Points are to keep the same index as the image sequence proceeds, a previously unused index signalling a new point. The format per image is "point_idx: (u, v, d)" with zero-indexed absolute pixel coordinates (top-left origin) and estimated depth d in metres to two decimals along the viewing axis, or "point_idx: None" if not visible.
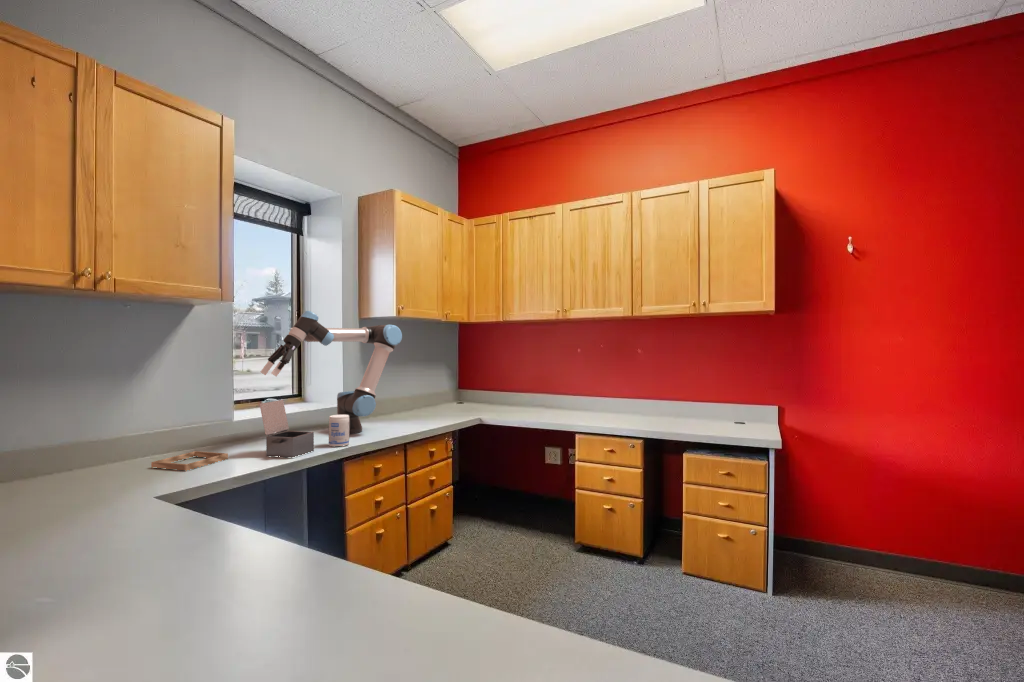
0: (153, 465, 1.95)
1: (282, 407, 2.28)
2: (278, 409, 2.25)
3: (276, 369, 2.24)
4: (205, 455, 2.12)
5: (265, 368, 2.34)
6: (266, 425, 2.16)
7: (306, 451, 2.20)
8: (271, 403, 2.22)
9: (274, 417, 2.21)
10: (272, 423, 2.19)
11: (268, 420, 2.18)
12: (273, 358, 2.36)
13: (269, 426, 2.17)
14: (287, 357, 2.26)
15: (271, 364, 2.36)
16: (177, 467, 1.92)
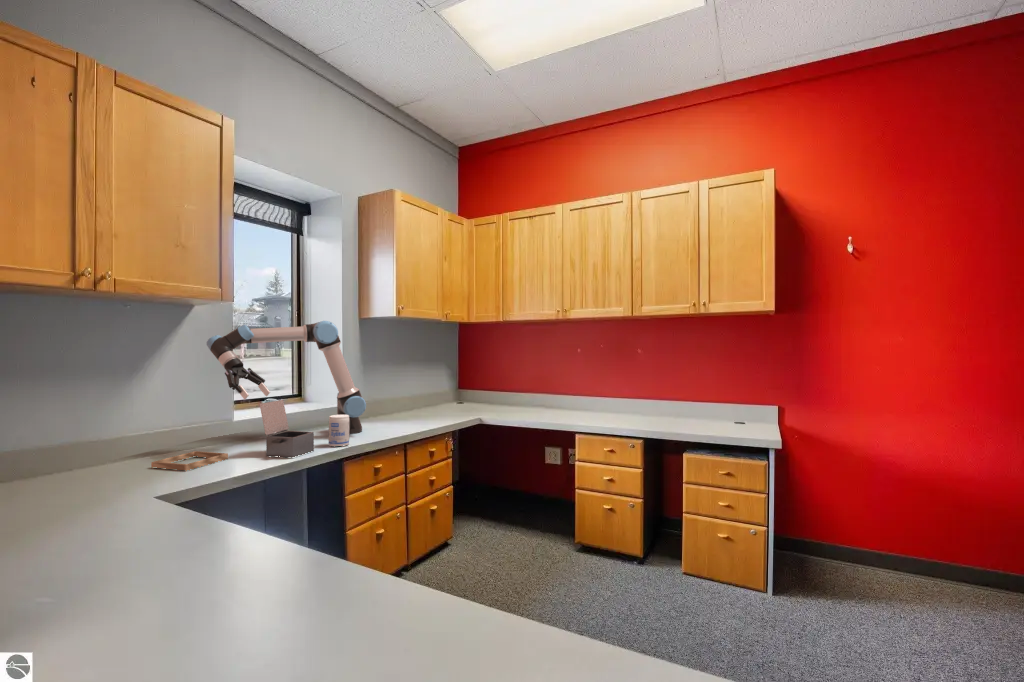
0: (153, 465, 1.95)
1: (282, 407, 2.28)
2: (278, 409, 2.25)
3: (241, 393, 2.18)
4: (205, 455, 2.12)
5: (263, 390, 2.31)
6: (266, 425, 2.16)
7: (306, 451, 2.20)
8: (271, 403, 2.22)
9: (274, 417, 2.21)
10: (272, 423, 2.19)
11: (268, 420, 2.18)
12: (255, 382, 2.32)
13: (269, 426, 2.17)
14: (229, 383, 2.17)
15: (261, 384, 2.32)
16: (177, 467, 1.92)
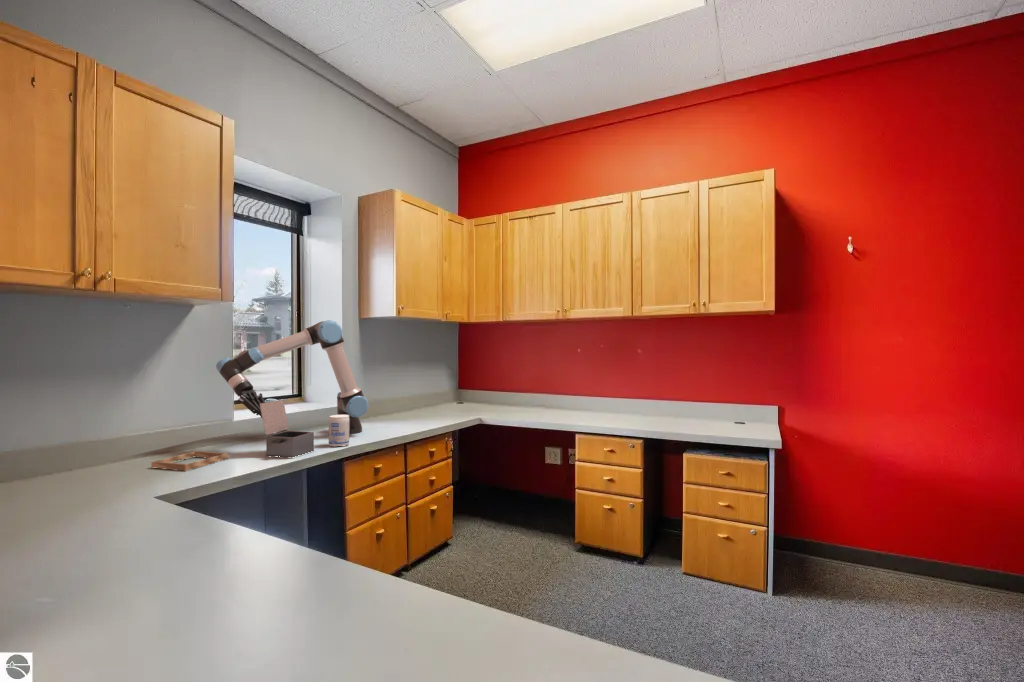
0: (153, 465, 1.95)
1: (282, 407, 2.28)
2: (278, 409, 2.25)
3: None
4: (205, 455, 2.12)
5: None
6: (266, 425, 2.16)
7: (306, 451, 2.20)
8: (271, 403, 2.22)
9: (274, 417, 2.21)
10: (272, 423, 2.19)
11: (268, 420, 2.18)
12: None
13: (269, 426, 2.17)
14: (251, 409, 2.20)
15: None
16: (177, 467, 1.92)
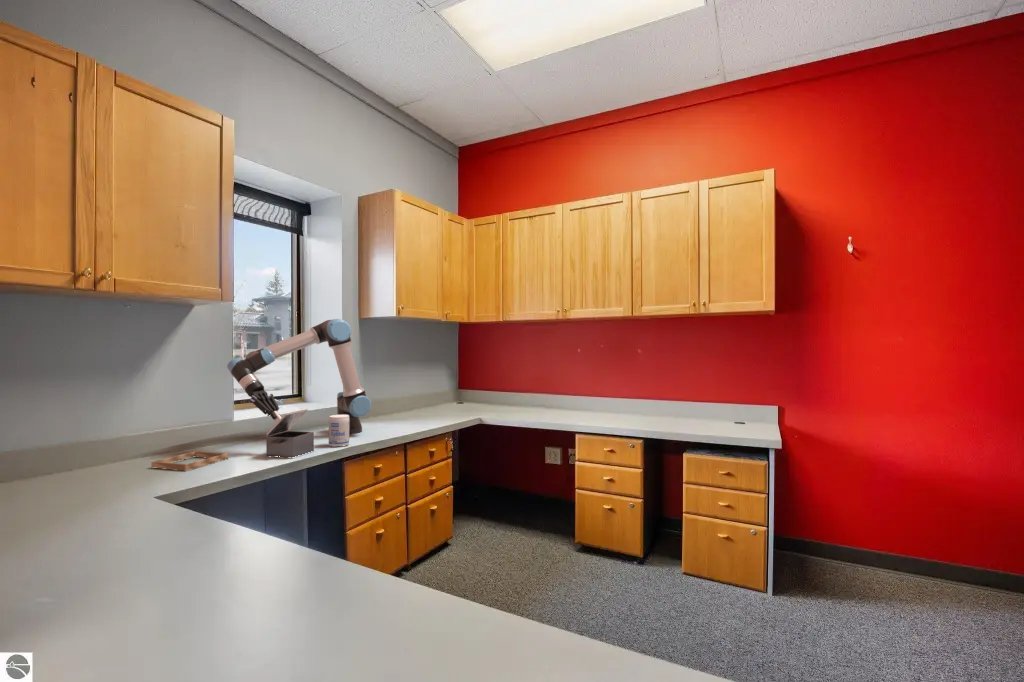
0: (153, 465, 1.95)
1: (301, 415, 2.25)
2: (296, 417, 2.22)
3: (276, 420, 2.21)
4: (205, 455, 2.12)
5: None
6: (273, 429, 2.15)
7: (306, 451, 2.20)
8: (295, 413, 2.18)
9: (286, 423, 2.20)
10: (280, 427, 2.18)
11: (279, 426, 2.16)
12: None
13: (275, 430, 2.16)
14: (262, 410, 2.19)
15: None
16: (177, 467, 1.92)
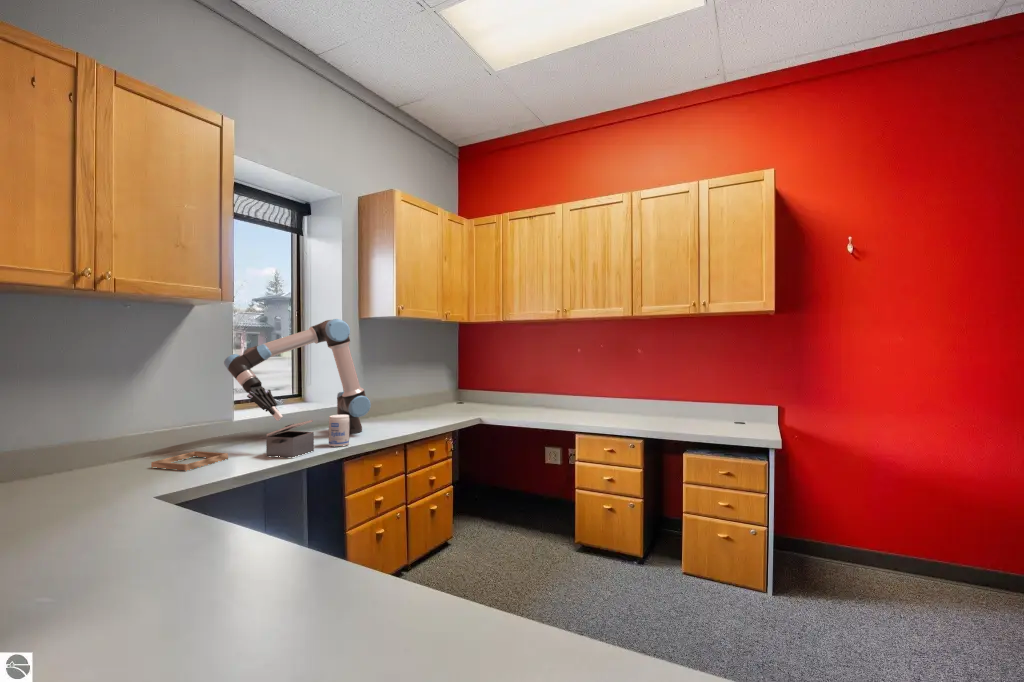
0: (153, 465, 1.95)
1: None
2: (299, 425, 2.22)
3: (274, 415, 2.21)
4: (205, 455, 2.12)
5: None
6: (275, 433, 2.15)
7: (306, 451, 2.20)
8: (300, 424, 2.18)
9: (289, 428, 2.19)
10: (281, 431, 2.18)
11: (281, 431, 2.16)
12: None
13: (276, 432, 2.16)
14: (260, 405, 2.19)
15: None
16: (177, 467, 1.92)
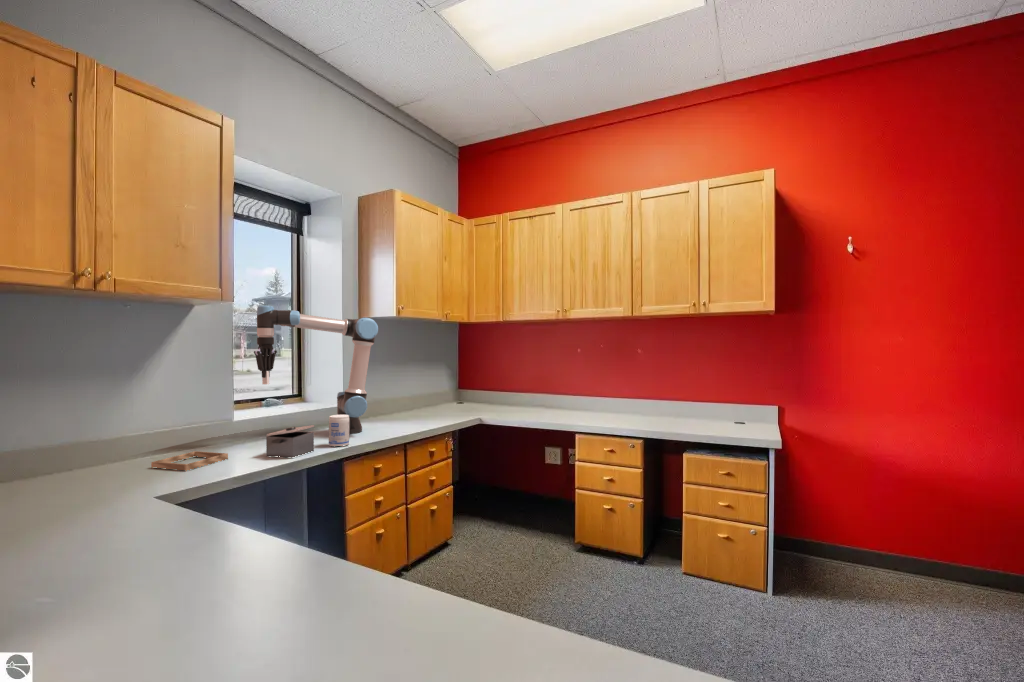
0: (153, 465, 1.95)
1: None
2: None
3: (263, 378, 2.38)
4: (205, 455, 2.12)
5: None
6: (275, 434, 2.15)
7: (306, 451, 2.20)
8: (301, 429, 2.18)
9: None
10: None
11: None
12: None
13: None
14: (258, 365, 2.35)
15: None
16: (177, 467, 1.92)
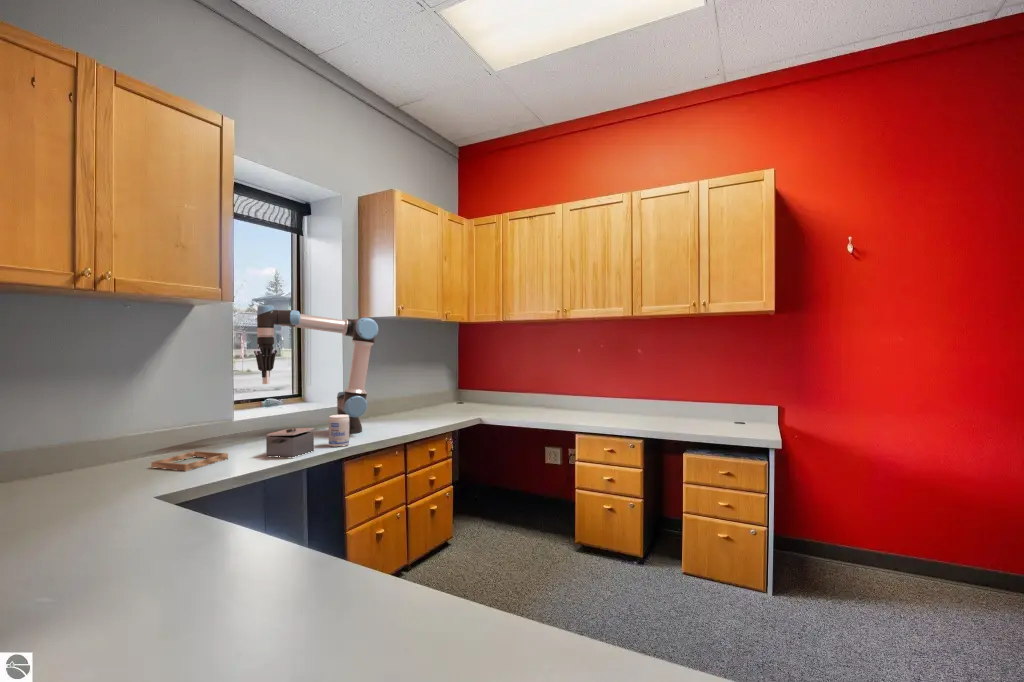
0: (153, 465, 1.95)
1: None
2: None
3: (263, 378, 2.38)
4: (205, 455, 2.12)
5: None
6: (275, 435, 2.15)
7: (306, 451, 2.20)
8: (301, 432, 2.18)
9: (289, 432, 2.19)
10: None
11: None
12: None
13: None
14: (258, 365, 2.35)
15: None
16: (177, 467, 1.92)
